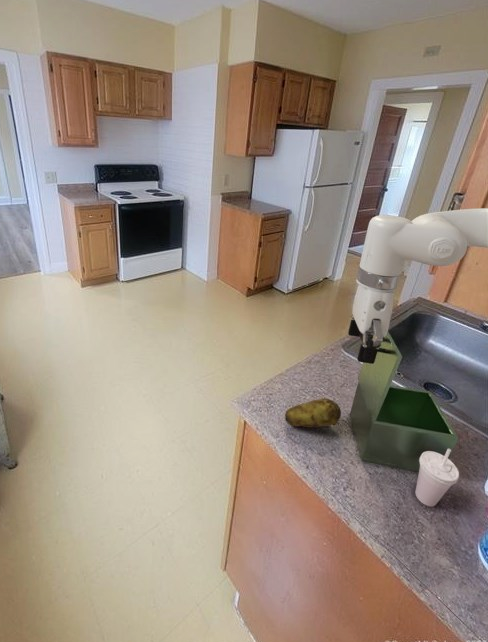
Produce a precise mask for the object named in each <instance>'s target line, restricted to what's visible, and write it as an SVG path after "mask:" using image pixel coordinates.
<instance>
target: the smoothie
mask: <svg viewBox="0 0 488 642" xmlns="http://www.w3.org/2000/svg"><path fill="white" fill-rule="evenodd" d="M450 452H451V449H447V452H446V454H445V456H443V455H441V454H439V453H437V452H433V451H426V452H423V453H422V455H421V457H420V459H419V462H420V469H419V472H418V474H417V475H418V476H417V481H416V487H415V492H414V493H415V496H416V498H417V500H418V501H419V502H421V504H423V505H425V506H426V507H429V508H432V507H435V506H436V505H437V504H438V503H439V502H440V500H442V498H443V496H444V495H445V494H446V493H447V492H448V490H449V489H450V488H451V487H452V486H453V485H455V484H457V482H458V481H459V477H460V472H459V469H458V468H457V465H455V464H454V462H453V461H452V460H450V458H449V459H448V457H449V454H450Z"/></svg>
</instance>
